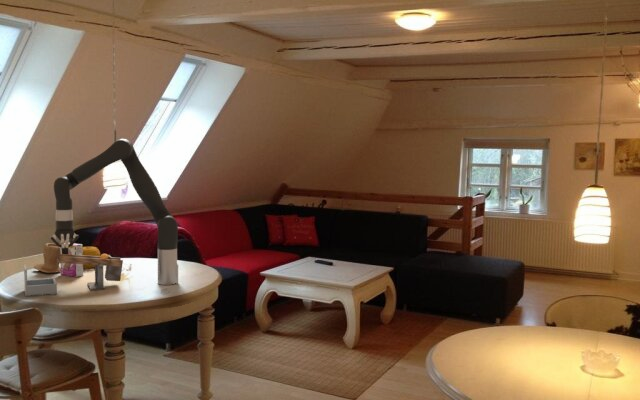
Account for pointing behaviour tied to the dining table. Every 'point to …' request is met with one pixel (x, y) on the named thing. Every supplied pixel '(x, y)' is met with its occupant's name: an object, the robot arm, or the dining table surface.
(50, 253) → the brown top hat
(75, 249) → the candy bar box
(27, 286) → the grey tray
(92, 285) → the lever stand
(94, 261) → the lever
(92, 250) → the yellow pumpkin
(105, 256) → the ball
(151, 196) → the robot arm
